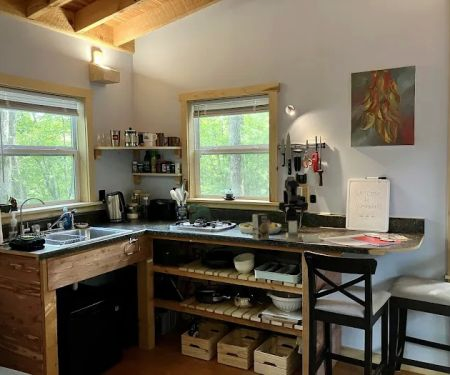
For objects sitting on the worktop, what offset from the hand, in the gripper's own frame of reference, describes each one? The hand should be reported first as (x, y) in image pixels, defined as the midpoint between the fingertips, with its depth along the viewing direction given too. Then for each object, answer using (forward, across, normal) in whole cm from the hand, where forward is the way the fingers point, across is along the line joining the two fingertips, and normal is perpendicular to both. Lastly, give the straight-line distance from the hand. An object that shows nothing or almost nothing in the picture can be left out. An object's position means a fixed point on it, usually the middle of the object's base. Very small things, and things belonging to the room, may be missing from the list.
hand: (293, 217), depth 268 cm
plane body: (+12, -1, +6) cm, 14 cm away
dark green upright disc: (-21, -70, +50) cm, 89 cm away
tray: (+15, +10, +3) cm, 18 cm away
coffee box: (+13, -21, +6) cm, 25 cm away
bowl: (-4, -22, +29) cm, 36 cm away
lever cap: (+13, -1, +1) cm, 13 cm away
